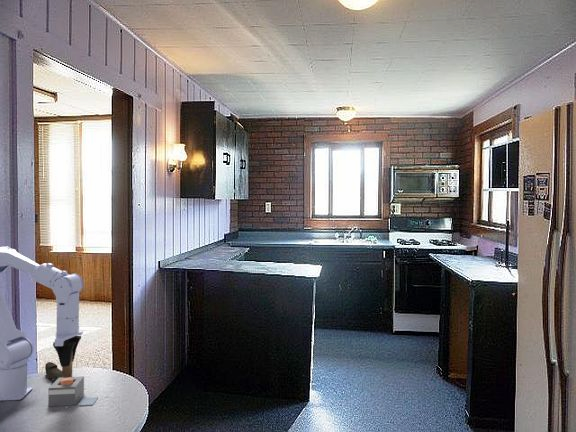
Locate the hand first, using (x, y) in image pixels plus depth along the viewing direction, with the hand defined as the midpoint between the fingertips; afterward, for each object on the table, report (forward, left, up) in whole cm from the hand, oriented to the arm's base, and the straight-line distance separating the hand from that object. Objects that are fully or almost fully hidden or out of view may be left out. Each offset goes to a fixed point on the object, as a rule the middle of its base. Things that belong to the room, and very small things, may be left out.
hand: (67, 364), depth 126 cm
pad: (+6, -2, -10) cm, 12 cm away
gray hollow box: (0, 0, -10) cm, 10 cm away
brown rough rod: (-8, +15, -11) cm, 20 cm away
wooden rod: (0, 0, -3) cm, 3 cm away
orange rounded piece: (0, 0, -7) cm, 7 cm away
